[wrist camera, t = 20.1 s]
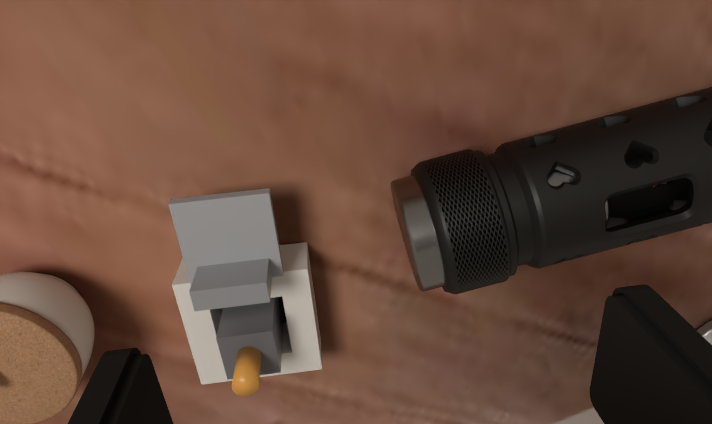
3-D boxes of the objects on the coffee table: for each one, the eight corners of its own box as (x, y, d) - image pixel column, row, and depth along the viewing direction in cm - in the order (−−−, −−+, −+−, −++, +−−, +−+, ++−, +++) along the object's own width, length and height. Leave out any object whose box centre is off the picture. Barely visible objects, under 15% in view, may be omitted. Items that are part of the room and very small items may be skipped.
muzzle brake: (731, 163, 42) (851, 221, 33) (404, 250, 43) (432, 331, 34) (743, 48, 38) (885, 77, 29) (379, 147, 39) (403, 208, 29)
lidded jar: (15, 366, 44) (-51, 461, 36) (-56, 265, 39) (-152, 348, 31) (134, 338, 44) (95, 427, 36) (77, 234, 39) (17, 309, 31)
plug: (283, 314, 44) (279, 403, 36) (238, 320, 44) (222, 411, 35) (276, 276, 43) (269, 360, 34) (228, 282, 42) (209, 368, 34)
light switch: (320, 337, 46) (322, 369, 42) (209, 350, 45) (201, 384, 42) (306, 242, 41) (307, 268, 38) (183, 256, 41) (172, 285, 37)
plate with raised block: (283, 269, 37) (281, 300, 34) (193, 280, 37) (182, 312, 34) (269, 188, 34) (266, 213, 31) (171, 199, 34) (156, 225, 31)
